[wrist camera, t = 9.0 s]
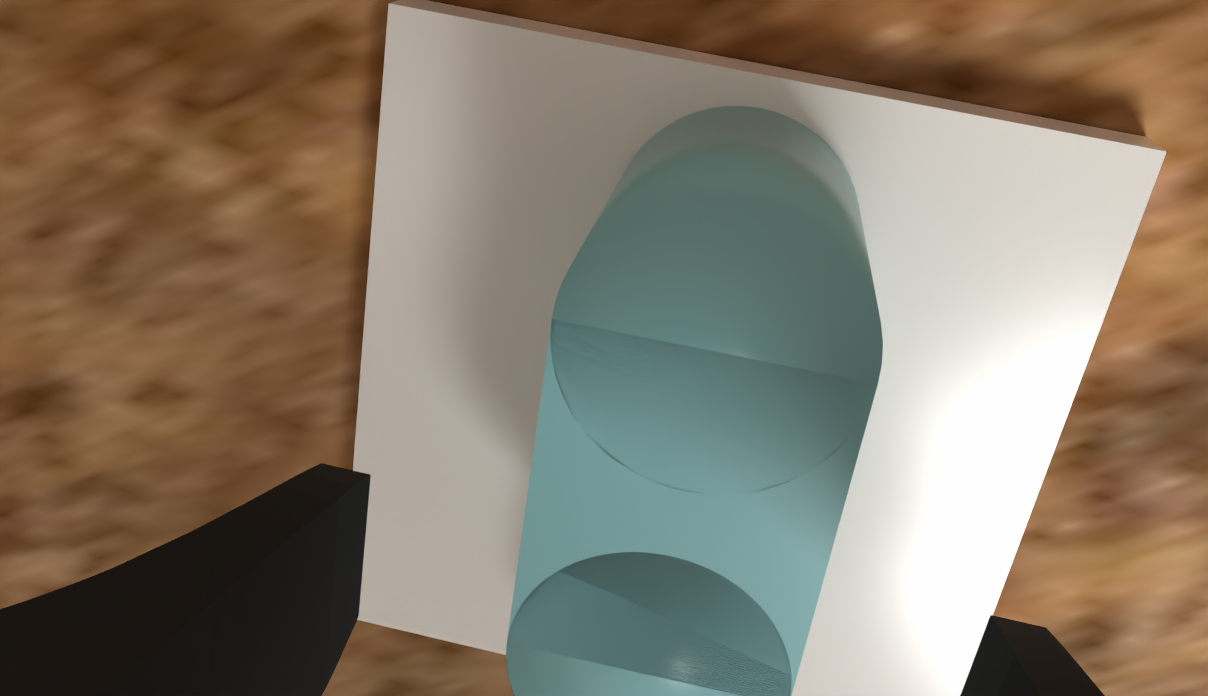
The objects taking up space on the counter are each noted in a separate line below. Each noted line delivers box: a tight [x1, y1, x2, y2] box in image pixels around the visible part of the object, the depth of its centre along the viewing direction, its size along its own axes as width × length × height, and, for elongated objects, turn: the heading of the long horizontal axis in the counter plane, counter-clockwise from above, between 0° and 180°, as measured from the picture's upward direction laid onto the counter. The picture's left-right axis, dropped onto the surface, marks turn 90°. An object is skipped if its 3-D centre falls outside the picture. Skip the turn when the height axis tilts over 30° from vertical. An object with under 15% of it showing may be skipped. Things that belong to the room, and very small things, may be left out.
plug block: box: [506, 106, 883, 696], centre depth 17 cm, size 4×11×5 cm, turn 172°
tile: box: [353, 0, 1167, 696], centre depth 20 cm, size 12×12×1 cm
